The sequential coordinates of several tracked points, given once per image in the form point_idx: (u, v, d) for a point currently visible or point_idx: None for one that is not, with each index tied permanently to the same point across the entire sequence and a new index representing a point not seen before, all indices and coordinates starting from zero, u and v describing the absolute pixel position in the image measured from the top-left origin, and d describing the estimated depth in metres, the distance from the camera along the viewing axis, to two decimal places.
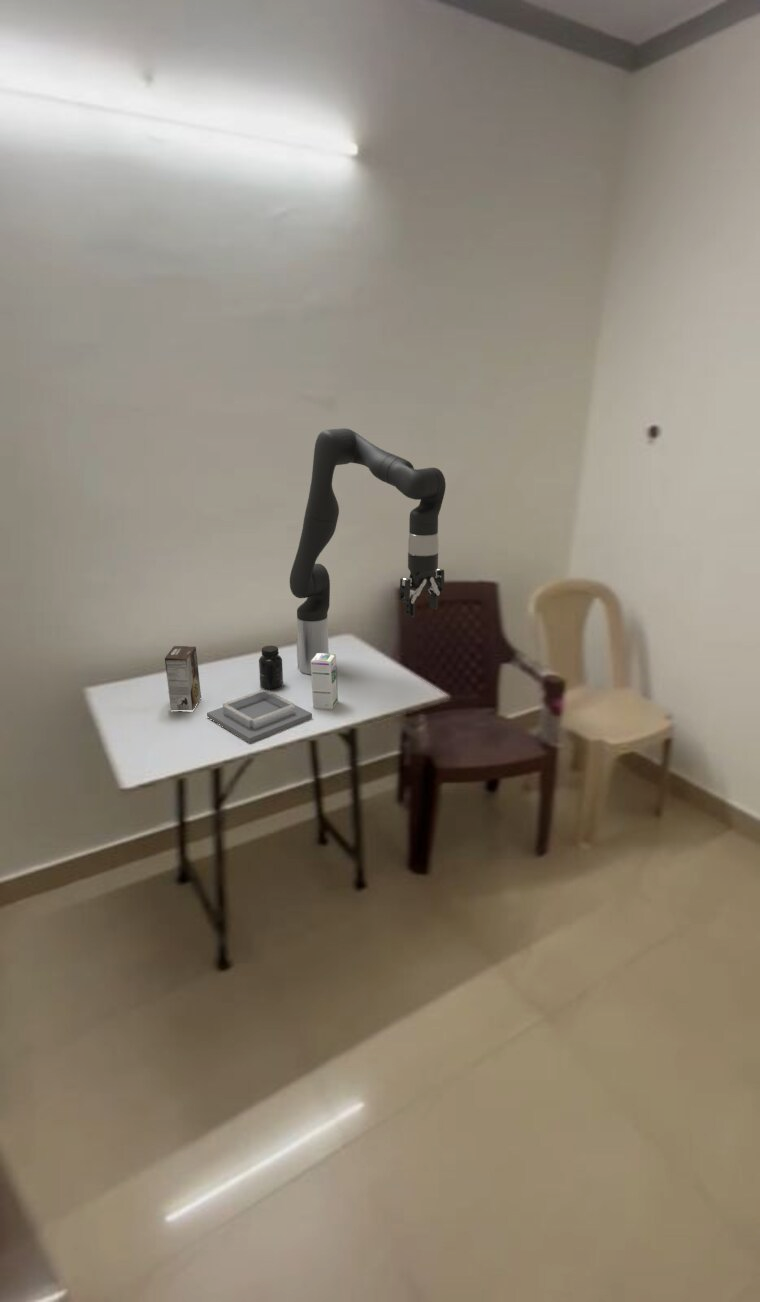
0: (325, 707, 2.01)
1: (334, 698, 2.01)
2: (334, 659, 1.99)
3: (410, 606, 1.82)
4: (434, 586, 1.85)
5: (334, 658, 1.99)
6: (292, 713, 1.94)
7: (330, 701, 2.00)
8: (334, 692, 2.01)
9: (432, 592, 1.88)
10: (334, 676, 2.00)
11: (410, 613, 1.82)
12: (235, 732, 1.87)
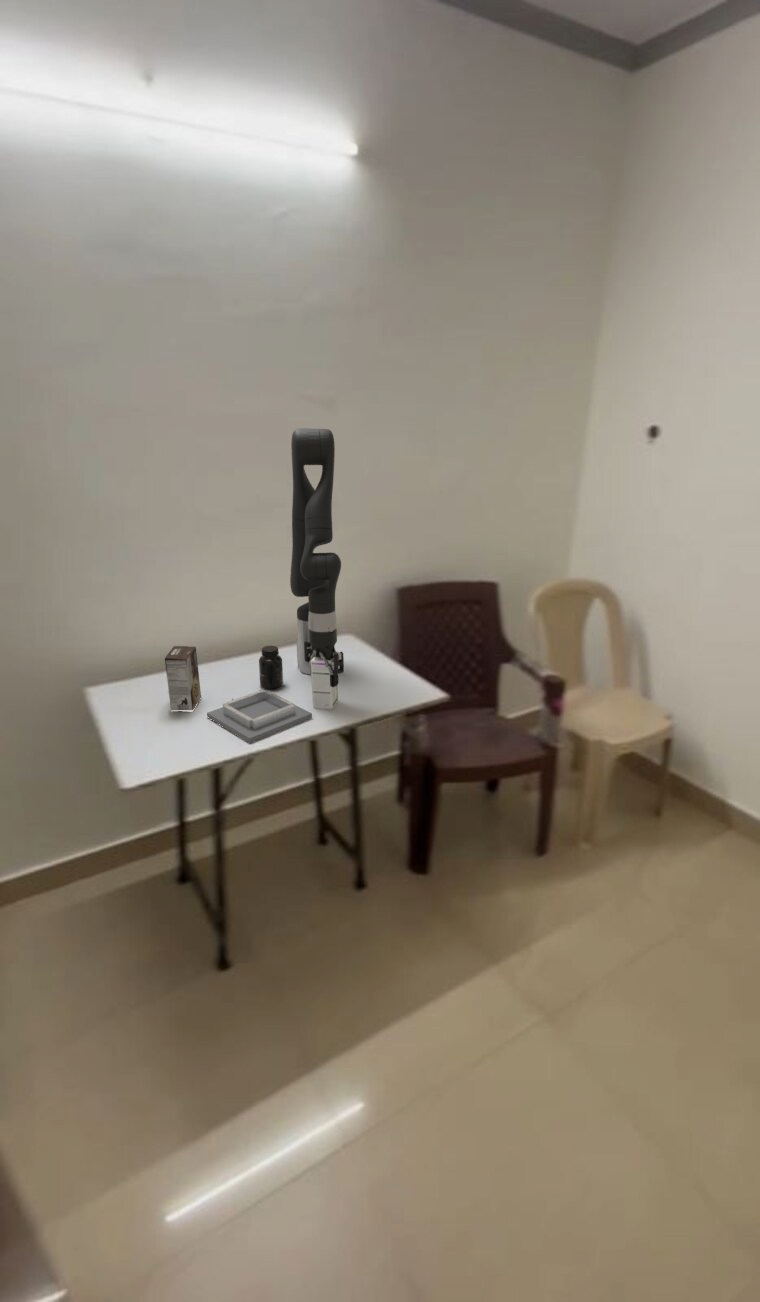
0: (325, 707, 2.01)
1: (334, 698, 2.01)
2: None
3: None
4: None
5: None
6: (292, 713, 1.94)
7: (330, 701, 2.00)
8: (334, 692, 2.01)
9: None
10: None
11: None
12: (235, 732, 1.87)
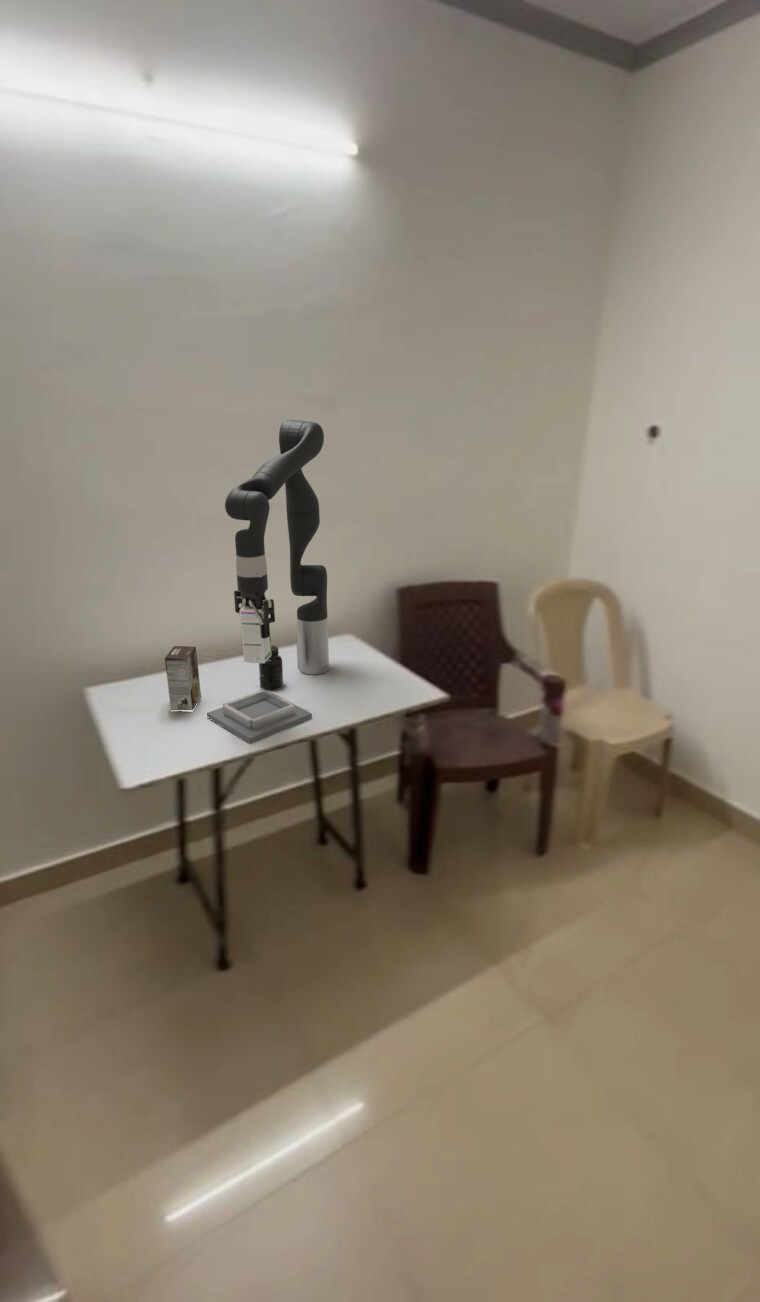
0: (256, 661, 1.87)
1: (266, 651, 1.87)
2: None
3: None
4: None
5: None
6: (292, 713, 1.94)
7: (261, 654, 1.86)
8: (266, 645, 1.87)
9: None
10: None
11: None
12: (235, 732, 1.87)
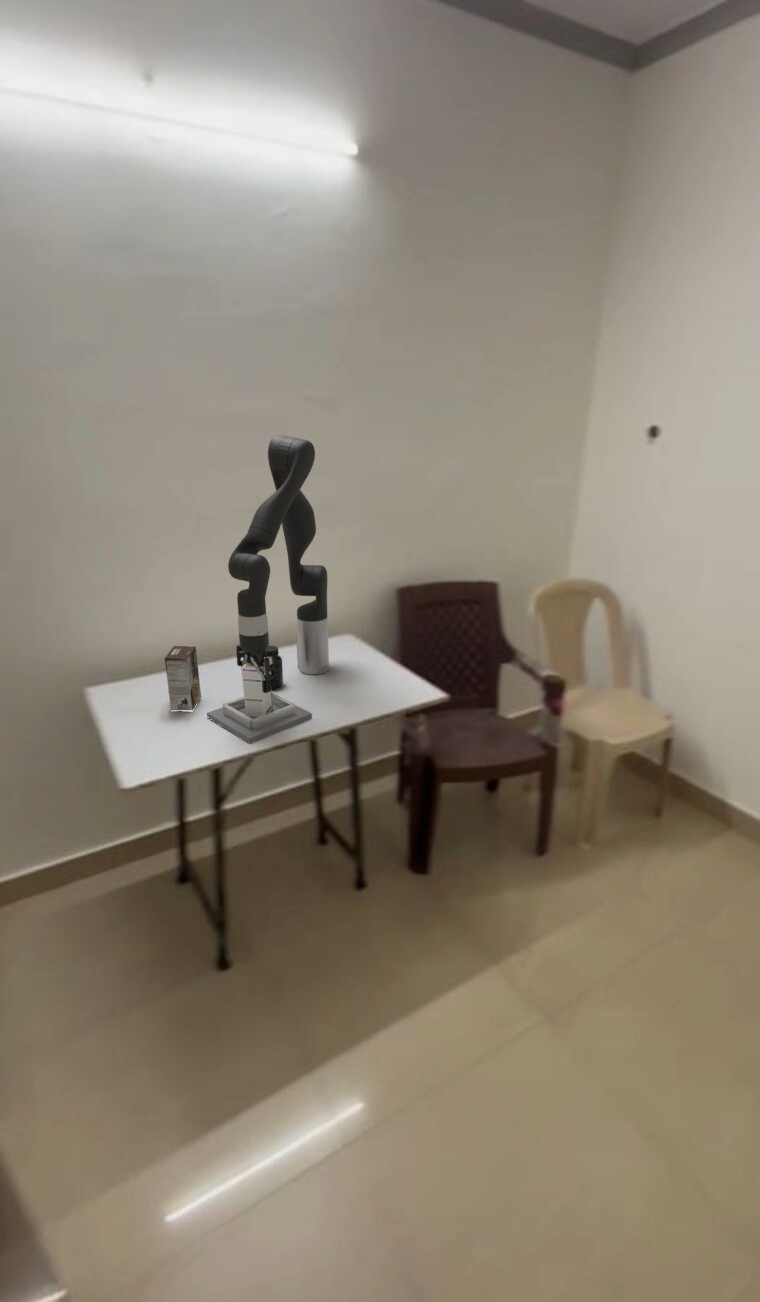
0: (258, 715, 1.93)
1: (268, 706, 1.93)
2: None
3: None
4: None
5: None
6: (292, 713, 1.94)
7: (263, 709, 1.92)
8: (267, 700, 1.93)
9: None
10: None
11: None
12: (235, 732, 1.87)
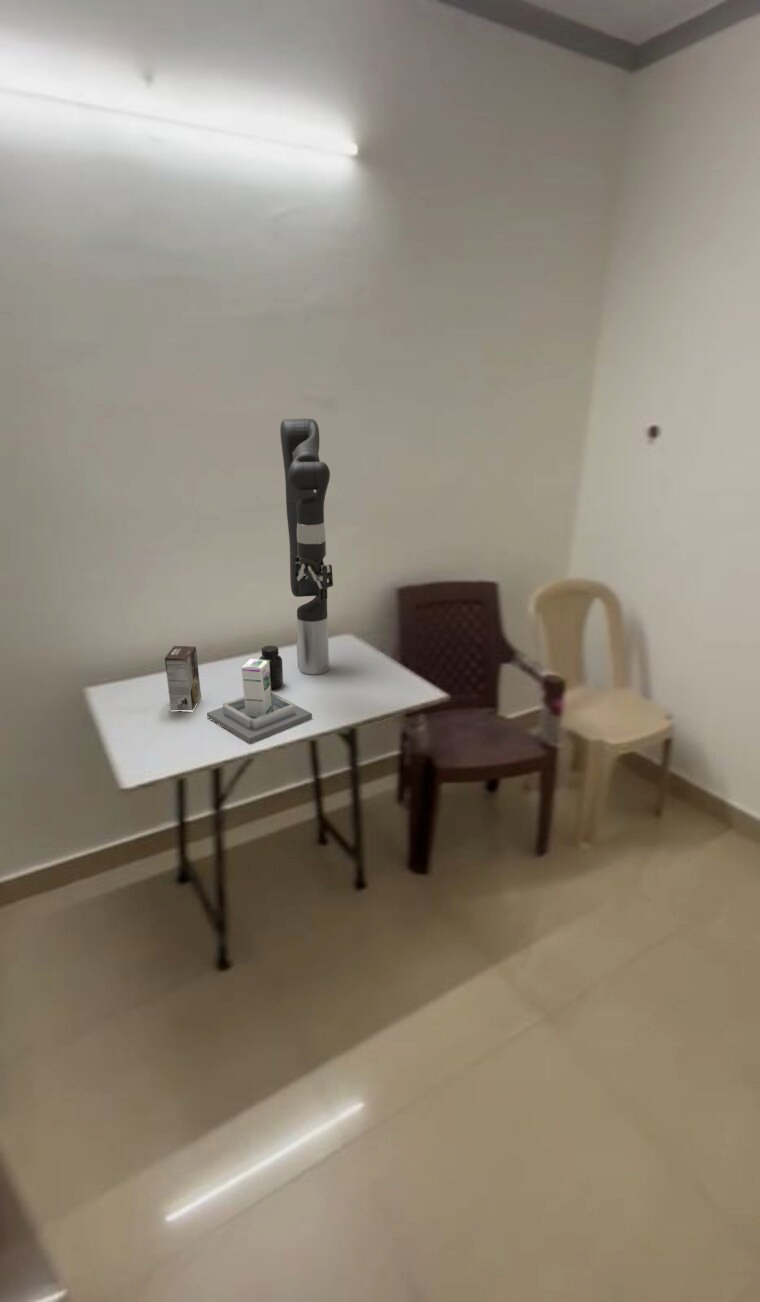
0: (258, 715, 1.93)
1: (268, 706, 1.93)
2: (267, 665, 1.91)
3: None
4: None
5: (267, 664, 1.91)
6: (292, 713, 1.94)
7: (263, 709, 1.92)
8: (267, 700, 1.93)
9: (302, 578, 1.99)
10: (267, 683, 1.92)
11: None
12: (235, 732, 1.87)
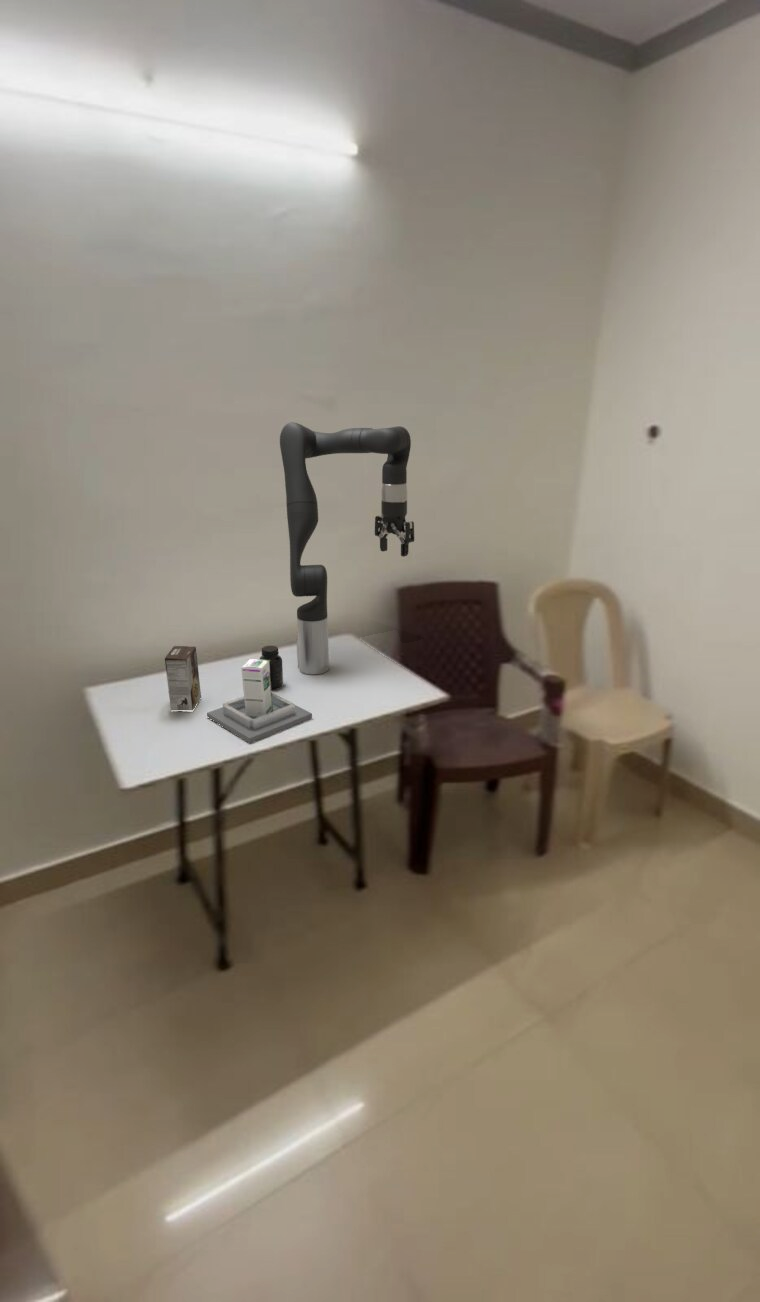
0: (258, 715, 1.93)
1: (268, 706, 1.93)
2: (267, 665, 1.91)
3: None
4: None
5: (267, 664, 1.91)
6: (292, 713, 1.94)
7: (263, 709, 1.92)
8: (267, 700, 1.93)
9: (383, 536, 2.18)
10: (267, 683, 1.92)
11: None
12: (235, 732, 1.87)
